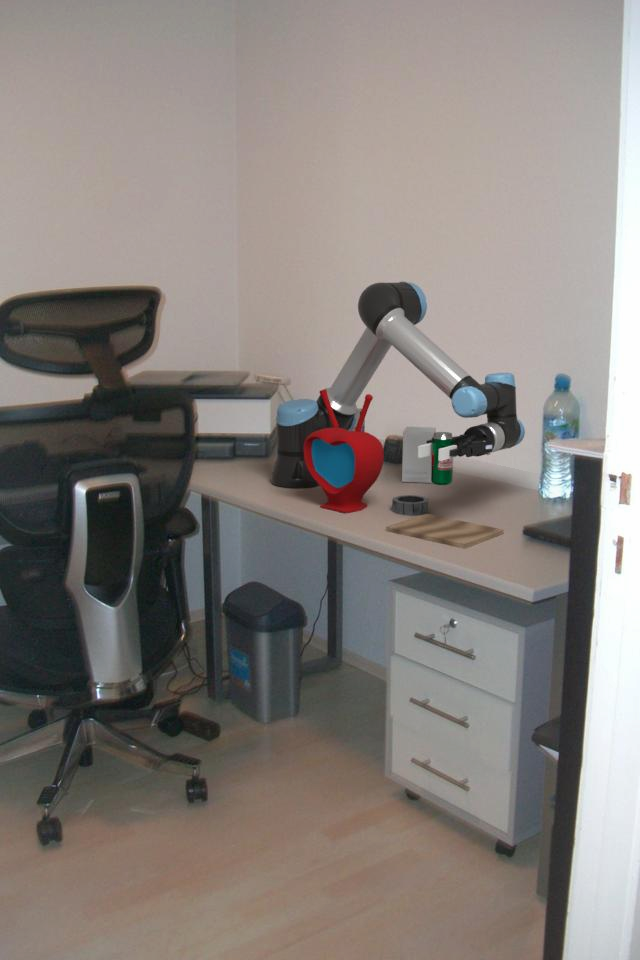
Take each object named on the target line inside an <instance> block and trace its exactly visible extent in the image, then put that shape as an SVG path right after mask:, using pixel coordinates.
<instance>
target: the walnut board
mask: <svg viewBox="0 0 640 960" xmlns="http://www.w3.org/2000/svg"><path fill="white" fill-rule="evenodd" d="M385 530H386V532H389V531H390V532H391V533H394V534H395V533H396V534H399V535H403V536H409V537H412V538H417V539H421V540H425V541H430V542H435V543H439V544H444V545H448V546H452V547H456V548H461V549H467V548H470V547H473V546H475V545H477V544H480V543H483V542H486V541H488V540H490V539H494V538H496V537H498V536H502V535H503V534H504V528H503V529H502V528H499V527H493V526H489V525H488V526H487V525H483V524H477V523H474V522H469V521H464V520H458V519H455V518H448V517H445V516H440V515H434V514H429V513H425V514H422V515H417V516H415V517H412V518H410V519H409V518H408V519H406V520H402V521H400V522H397V523H392V524H391V525H386V527H385Z"/></svg>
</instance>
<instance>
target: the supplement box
mask: <svg viewBox="0 0 640 960" xmlns="http://www.w3.org/2000/svg"><path fill="white" fill-rule="evenodd" d="M436 429H437V428H436V427H427V426H426V427H425V426H421V427H420V426H406V427H405V428H404V430H403V431H402V461H401V462H402V464H401V465H402V466H401V482H404V483H418V484H419V483H422V484H426V483H427V484H433V483H432V481H431V456H432V455H430V456H426V457H422V458H418V446H421V445H425V444H426V443H427V441H428V440H432V437H433V435H434V433H436Z"/></svg>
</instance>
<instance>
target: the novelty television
mask: <svg viewBox="0 0 640 960" xmlns="http://www.w3.org/2000/svg"><path fill="white" fill-rule="evenodd" d="M320 395H321V396H322V398H323V401H324V403H325V406H326V409H327V411H328V414H329V417H330V420H331V423H332V427H333V428H325V429H321V430H318V431H315V432H313V433H312V434H310V435H309V436H308V437H307V438H306V440H305V442H304V446H303V450H304V458H305V462H306V465H307V468H308V470H309V472H310V473H311V475H312V476H313V478H314V479H315V480H316V481H317V482H318V484H319V485H318V486H319V487H320V488H321V490H322V491H323V492H324V494H325V496H326V498H327V501H328V502H325V503H322V504H321V505H319V507H320V508H321V509H325V510H330V511H334V512H337V511H338V513H341V512H342V514H350V513H356V512H360V511H362V510H364V509H365V508H367V506H368V503H366V502H362V501H363V499H364V497H365V494H366V493H367V492H368V491H369V490H370V488H371V487H372V486H373V485H374V484H375V483H376V481H377V480H378V478H379V476H380V475H381V472H382V468H383V465H384V461H385V460H384V458H385V454H384V453H385V452H384V451H385V450H384V445H383V444H382V442H381V440H379V439H378V438H377V436H375V435H373V434H371V433H369V432H366V431H365V432H363V431H361V429H362V425H363V422H364V419H365V418H366V416H367V412H368V411H369V407H370V405H371V402H372V400H373V399H374V396H373V395H372V394H370V393H368V394H365V397H364V402H363V405H362V408H361V409H362V411H361V414H360V417H359V420H358V423H357V425H356V427H355V431H348V430H346V429H343V428H339V425H338V423H337V420H336V418H335V415H334V413H333V410H332V407H331V404H330V401H329V398H328V395H327V390H326V389H325V388H324V389H322V390H319V396H320Z"/></svg>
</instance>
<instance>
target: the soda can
mask: <svg viewBox="0 0 640 960" xmlns="http://www.w3.org/2000/svg"><path fill="white" fill-rule="evenodd" d="M453 437H454V436H453V433H452V432H448V431H437V432H436V433H434V435H433V437H432V456H431V481H432V483H431V484H433V485H436V486H448V485H451V484H452V483H453V481H454V480H453V479H454V478H453V476H454V475H453V473H454V465H453V464H454V458H450V459H446V460H443V461H438V458H439V449H441V448H444V447H448V446H452V445H453V439H454V438H453Z"/></svg>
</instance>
